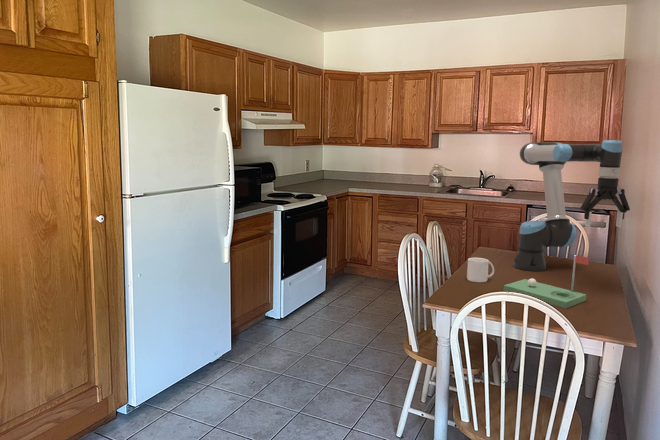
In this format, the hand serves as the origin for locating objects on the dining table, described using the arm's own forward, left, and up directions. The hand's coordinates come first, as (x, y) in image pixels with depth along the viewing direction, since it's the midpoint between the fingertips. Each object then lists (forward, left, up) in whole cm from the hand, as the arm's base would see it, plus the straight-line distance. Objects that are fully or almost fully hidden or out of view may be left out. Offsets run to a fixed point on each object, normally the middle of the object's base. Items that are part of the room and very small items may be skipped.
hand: (603, 226), depth 213 cm
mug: (-37, -32, -27) cm, 56 cm away
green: (-8, -30, -27) cm, 41 cm away
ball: (-13, -30, -23) cm, 40 cm away
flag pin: (+3, -23, -27) cm, 35 cm away
